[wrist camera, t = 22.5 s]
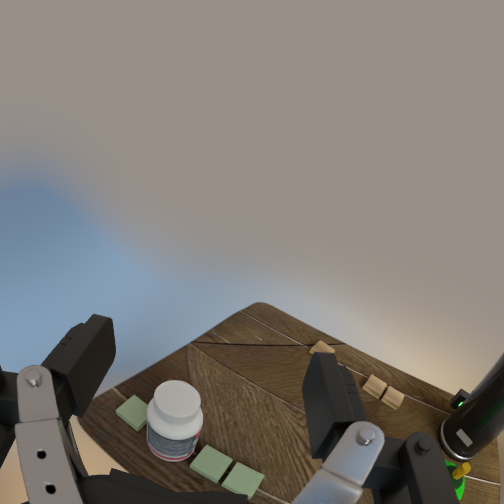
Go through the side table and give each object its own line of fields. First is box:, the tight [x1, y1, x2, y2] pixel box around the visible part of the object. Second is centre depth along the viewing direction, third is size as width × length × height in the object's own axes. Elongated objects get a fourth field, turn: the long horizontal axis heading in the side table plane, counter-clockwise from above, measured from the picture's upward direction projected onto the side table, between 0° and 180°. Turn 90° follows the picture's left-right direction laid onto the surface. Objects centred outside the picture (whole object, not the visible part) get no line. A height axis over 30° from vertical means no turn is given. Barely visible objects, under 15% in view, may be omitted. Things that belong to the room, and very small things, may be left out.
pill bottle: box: [147, 380, 203, 461], centre depth 24 cm, size 5×5×9 cm
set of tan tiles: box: [309, 340, 404, 410], centre depth 42 cm, size 3×18×1 cm, turn 49°
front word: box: [116, 395, 265, 500], centre depth 25 cm, size 3×17×1 cm, turn 64°
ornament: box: [445, 460, 471, 500], centre depth 19 cm, size 8×8×10 cm
